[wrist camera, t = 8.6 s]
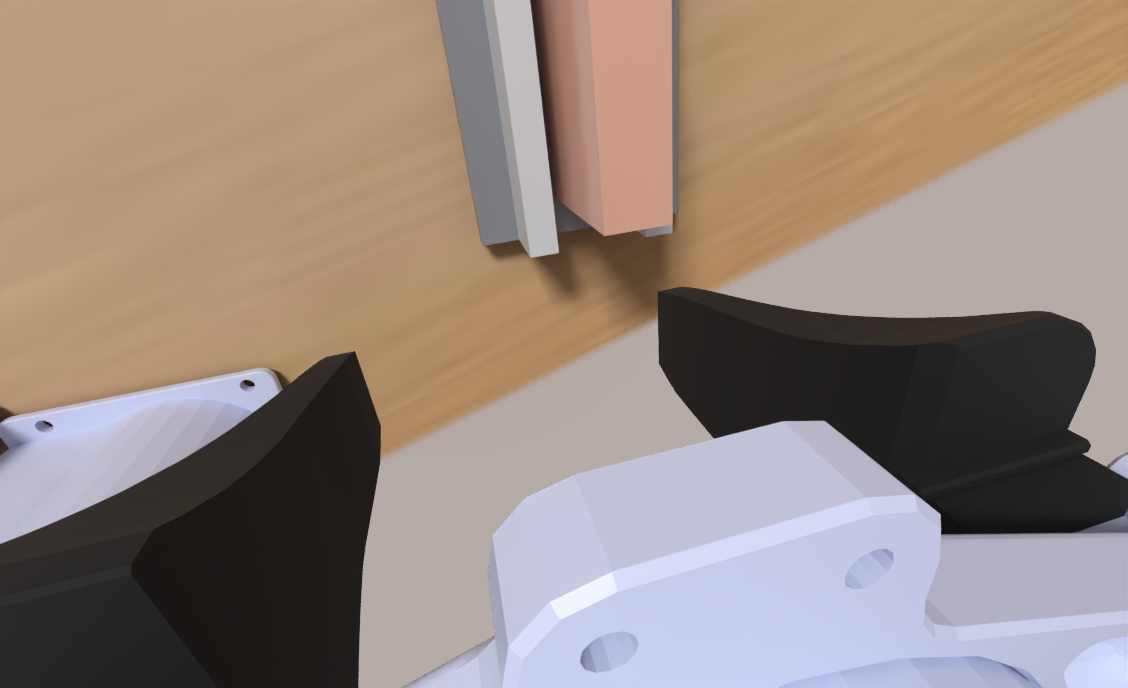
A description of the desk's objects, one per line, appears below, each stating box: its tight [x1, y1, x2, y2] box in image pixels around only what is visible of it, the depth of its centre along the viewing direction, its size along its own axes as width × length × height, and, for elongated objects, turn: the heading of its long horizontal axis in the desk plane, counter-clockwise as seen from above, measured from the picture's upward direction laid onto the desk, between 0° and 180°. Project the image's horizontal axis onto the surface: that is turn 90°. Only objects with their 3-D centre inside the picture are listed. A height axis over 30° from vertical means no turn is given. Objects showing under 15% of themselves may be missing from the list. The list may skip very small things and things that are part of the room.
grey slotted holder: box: [436, 0, 678, 258], centre depth 16 cm, size 8×11×4 cm
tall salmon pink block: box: [533, 0, 673, 236], centre depth 14 cm, size 2×8×6 cm, turn 6°
